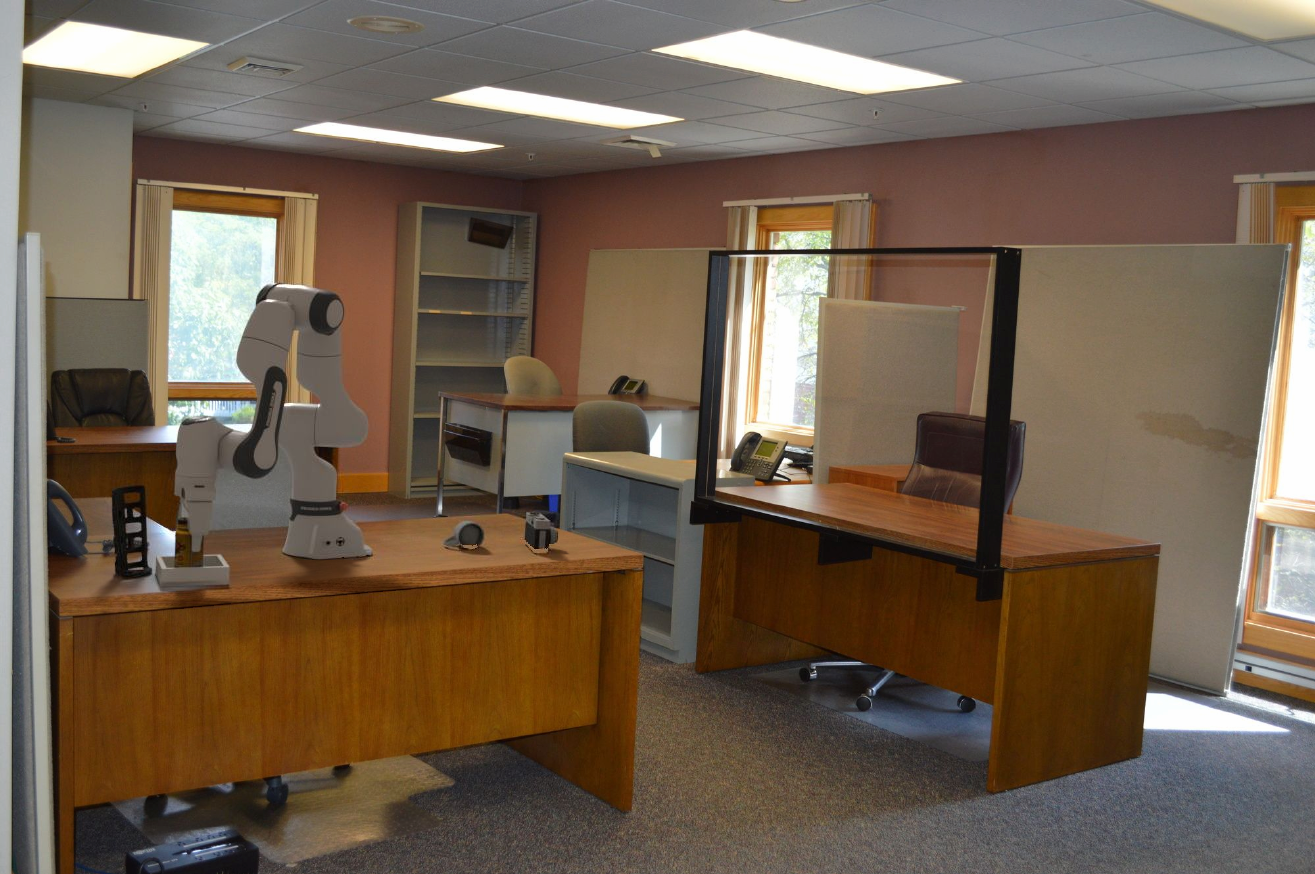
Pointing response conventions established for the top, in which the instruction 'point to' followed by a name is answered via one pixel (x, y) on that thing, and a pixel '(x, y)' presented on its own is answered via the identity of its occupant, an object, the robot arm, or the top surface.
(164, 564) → the tray
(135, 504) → the holder
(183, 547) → the condiment
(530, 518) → the camera
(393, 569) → the top surface
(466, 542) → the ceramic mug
